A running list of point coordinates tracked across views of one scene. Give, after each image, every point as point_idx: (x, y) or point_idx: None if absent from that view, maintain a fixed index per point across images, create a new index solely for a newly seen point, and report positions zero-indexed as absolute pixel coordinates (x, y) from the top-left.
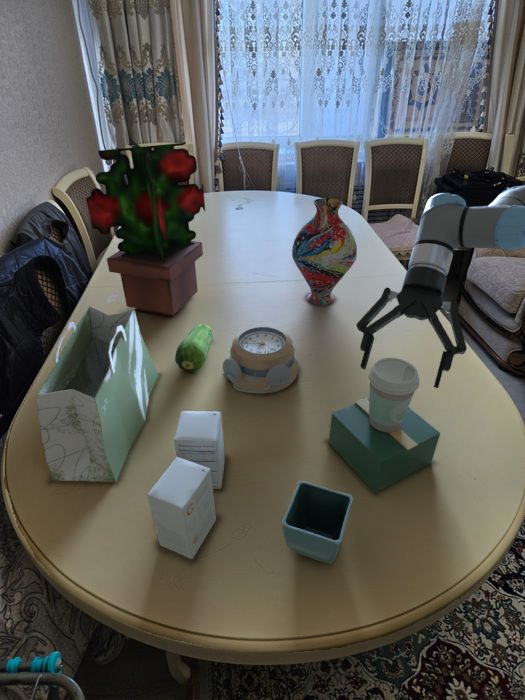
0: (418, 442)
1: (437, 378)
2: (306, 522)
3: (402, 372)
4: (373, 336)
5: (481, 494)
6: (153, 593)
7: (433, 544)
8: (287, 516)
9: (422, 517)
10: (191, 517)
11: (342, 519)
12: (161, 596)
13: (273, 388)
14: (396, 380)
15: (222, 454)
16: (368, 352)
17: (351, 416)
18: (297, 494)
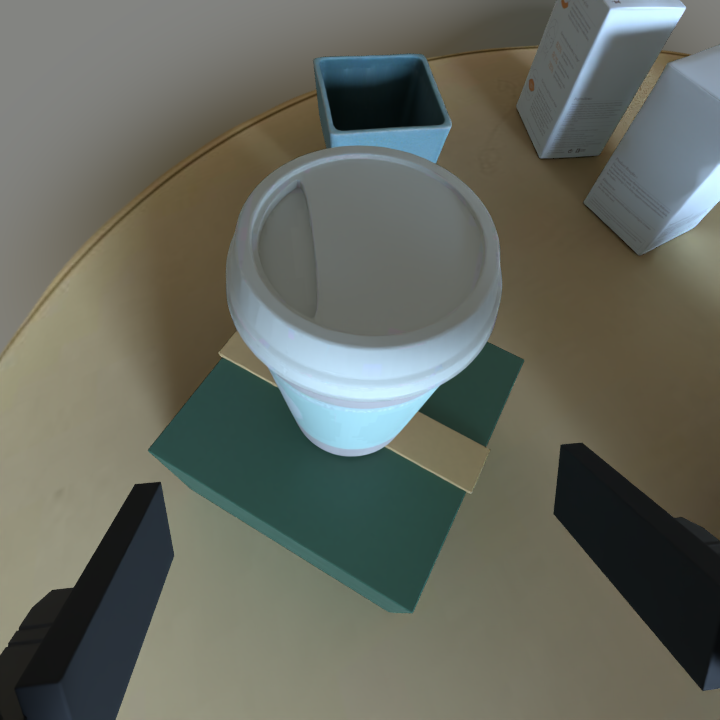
0: (219, 368)
1: (139, 506)
2: None
3: (326, 245)
4: (715, 619)
5: (44, 445)
6: (519, 67)
7: (163, 269)
8: (424, 67)
9: (193, 313)
10: (557, 18)
11: None
12: (508, 68)
13: None
14: (335, 177)
15: (643, 192)
16: (616, 501)
17: (461, 376)
18: (437, 112)
